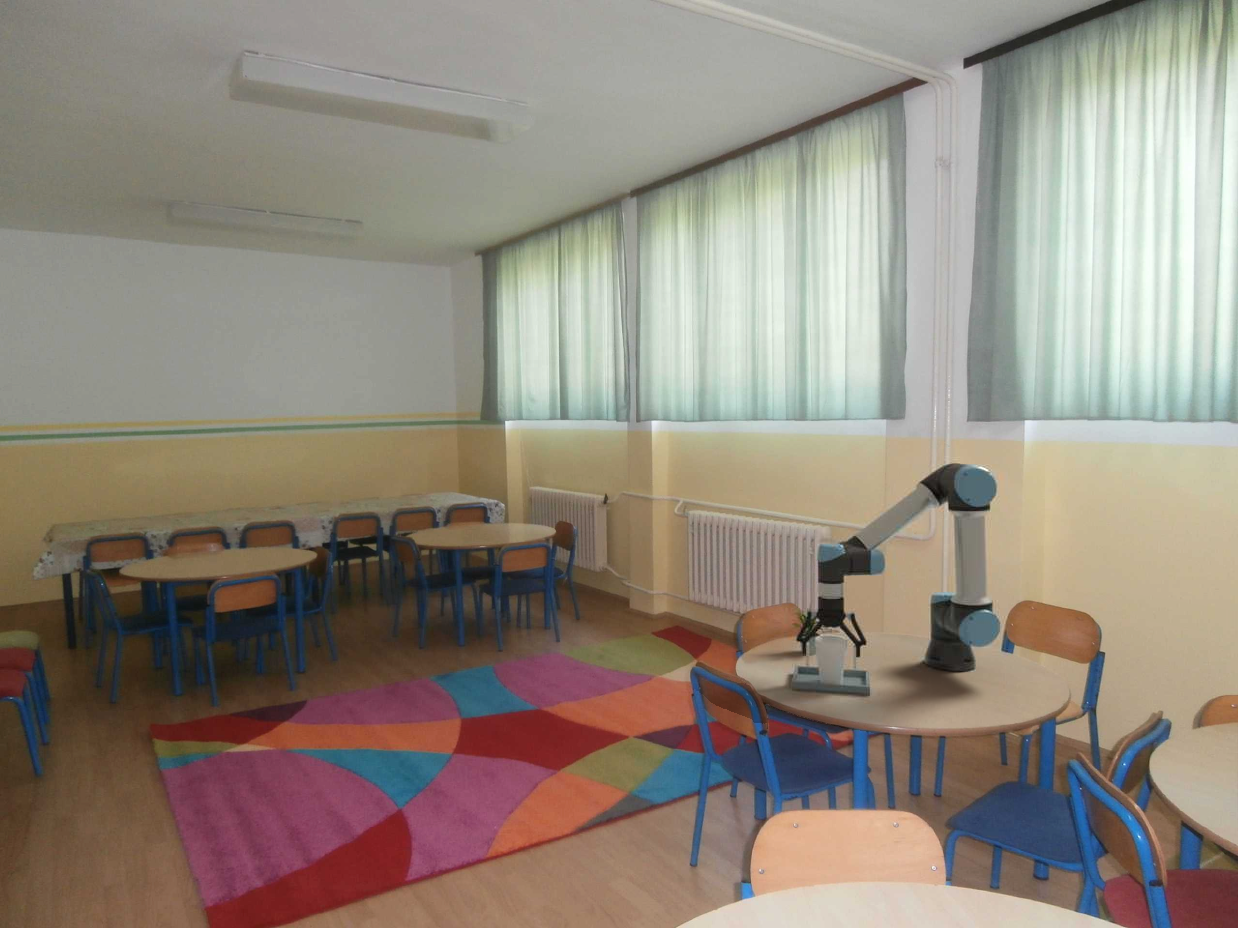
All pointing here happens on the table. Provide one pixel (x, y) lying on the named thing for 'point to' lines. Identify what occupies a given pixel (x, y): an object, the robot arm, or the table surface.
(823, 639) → the foam cup
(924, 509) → the robot arm
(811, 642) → the house plant
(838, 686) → the tray
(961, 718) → the table surface
